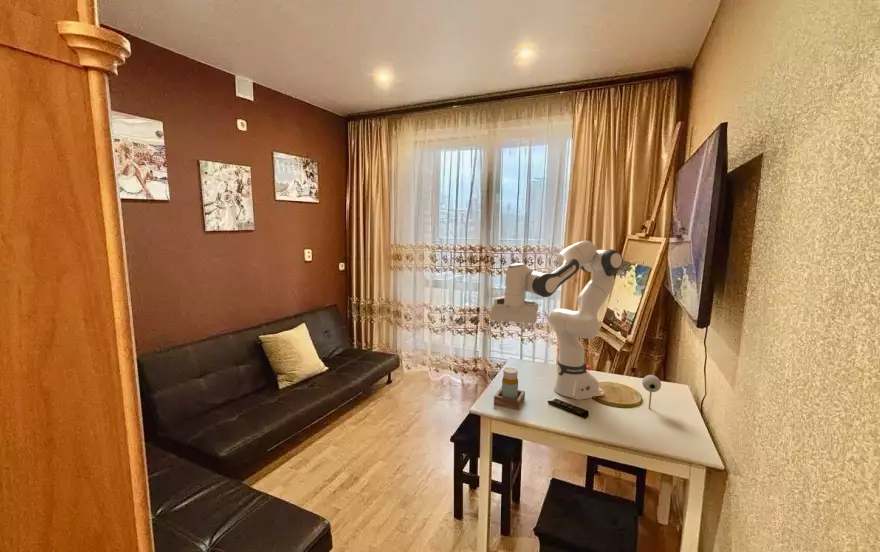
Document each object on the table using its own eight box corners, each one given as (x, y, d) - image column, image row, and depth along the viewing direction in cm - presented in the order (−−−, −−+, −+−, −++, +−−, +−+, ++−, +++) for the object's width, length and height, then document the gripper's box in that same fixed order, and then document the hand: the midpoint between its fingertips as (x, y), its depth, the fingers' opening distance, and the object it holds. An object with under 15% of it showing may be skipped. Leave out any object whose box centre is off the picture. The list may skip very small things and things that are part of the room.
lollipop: (641, 410, 163) (644, 377, 161) (639, 403, 170) (642, 371, 168) (659, 413, 161) (663, 380, 159) (657, 406, 167) (660, 373, 165)
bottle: (520, 402, 170) (521, 370, 168) (511, 407, 165) (513, 374, 163) (507, 397, 175) (508, 366, 173) (498, 402, 170) (499, 370, 168)
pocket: (501, 394, 177) (501, 386, 177) (524, 399, 173) (524, 391, 172) (493, 404, 168) (494, 396, 167) (518, 410, 163) (518, 401, 162)
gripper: (537, 300, 168) (535, 331, 169) (491, 297, 171) (489, 327, 172) (539, 303, 162) (536, 335, 163) (490, 299, 165) (489, 331, 166)
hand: (512, 331), depth 168 cm, fingers open, 8 cm apart
